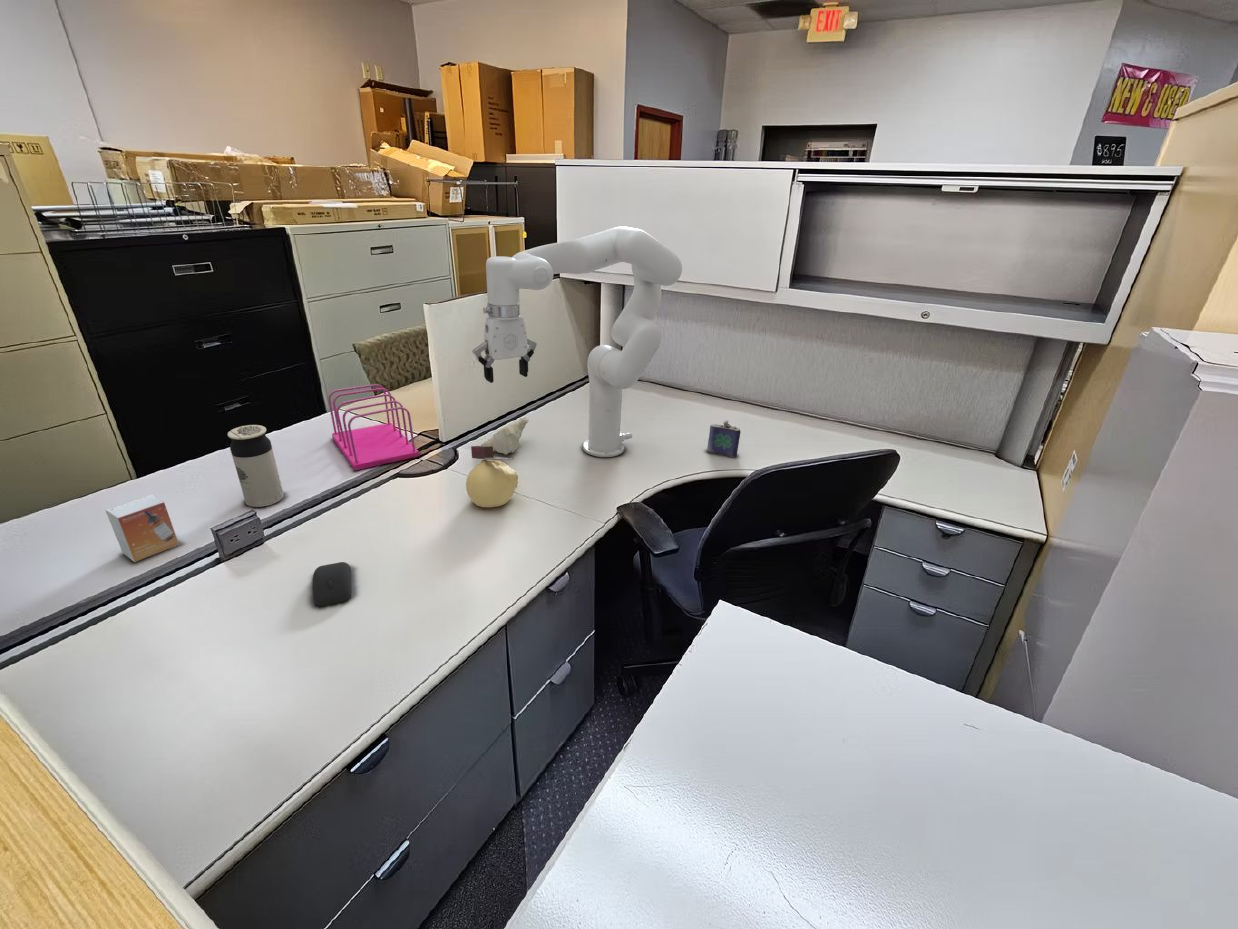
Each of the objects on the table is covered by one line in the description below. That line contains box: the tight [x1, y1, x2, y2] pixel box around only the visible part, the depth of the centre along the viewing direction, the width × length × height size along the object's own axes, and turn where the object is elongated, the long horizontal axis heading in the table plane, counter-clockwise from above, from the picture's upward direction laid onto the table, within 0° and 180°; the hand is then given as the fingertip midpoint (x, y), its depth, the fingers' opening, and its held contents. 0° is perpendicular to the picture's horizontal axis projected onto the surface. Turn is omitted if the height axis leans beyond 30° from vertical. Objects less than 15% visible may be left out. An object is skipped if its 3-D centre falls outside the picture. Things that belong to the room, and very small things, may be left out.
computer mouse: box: [312, 561, 352, 607], centre depth 107 cm, size 6×11×4 cm, turn 24°
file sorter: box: [327, 383, 420, 471], centre depth 160 cm, size 17×25×16 cm
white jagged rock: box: [480, 416, 529, 456], centre depth 165 cm, size 15×7×15 cm
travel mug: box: [227, 424, 285, 508], centre depth 131 cm, size 8×8×18 cm
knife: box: [470, 445, 514, 462], centre depth 134 cm, size 18×3×3 cm, turn 39°
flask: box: [706, 420, 741, 458], centre depth 169 cm, size 9×3×11 cm, turn 71°
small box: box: [105, 494, 180, 563], centre depth 113 cm, size 8×6×10 cm
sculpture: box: [465, 459, 519, 508], centre depth 137 cm, size 12×12×11 cm
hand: (506, 378), depth 144 cm, fingers open, 9 cm apart
